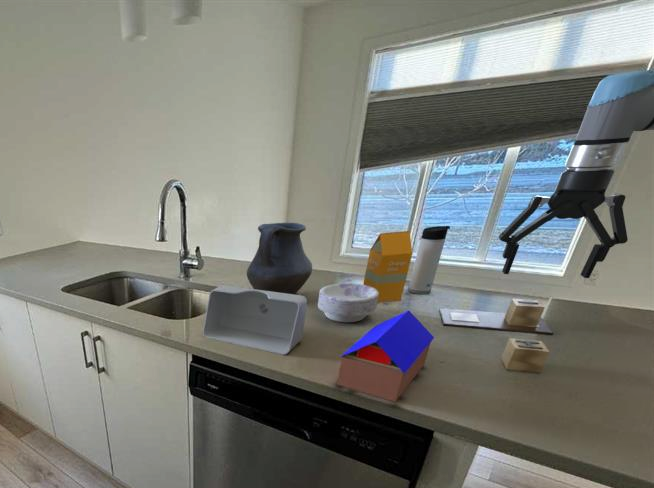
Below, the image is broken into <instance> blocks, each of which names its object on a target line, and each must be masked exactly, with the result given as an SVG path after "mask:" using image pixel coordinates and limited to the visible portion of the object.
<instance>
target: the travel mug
mask: <svg viewBox="0 0 654 488" xmlns="http://www.w3.org/2000/svg"><path fill="white" fill-rule="evenodd" d="M450 229H451V226H450V225H439V226H430V227H425V228H424V229H423V230H422V233H421V234H422V235H421V237H420V240H419V244H418V249H417V252H416V256H415V260H414V263H413V268H412V272H411V275H410V279H409V283H408V287H407V292H409V293H410V294H416V295H428V294H430V293H431V291H432V287H433V285H434V281H435V277H436V274H437V271H438V267H439V264H440V260H441V257H442V254H443V253H442V252H443V250H444V246H445V242H446V238H447V234H448V230H450Z"/></svg>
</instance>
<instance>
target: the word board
mask: <svg viewBox="0 0 654 488" xmlns="http://www.w3.org/2000/svg"><path fill="white" fill-rule="evenodd" d="M438 311H439V315H440V318H441V322H442V326H445V327H455V328H465V329H466V328H467V329H477V330H479V329H480V330H491V331H501V332H511V333H512V332H514V333H523V334H538V335H547V336H548V335H549V336H553V335H554V331H553V330H552V329H551V328H550V326H549V325H548V324H547V323H546V322H545V320H544V319H543V317H542V316H541V317H540V320H539V322H538V324H537V326H529V325H516V324H509V323H508V321H507V319H506V318H505V315H506V312H495V311H484V310H483V311H482V310H468V309H456V308H455V309H453V308H441V307H440V308H439V309H438Z"/></svg>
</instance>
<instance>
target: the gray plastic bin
mask: <svg viewBox="0 0 654 488" xmlns="http://www.w3.org/2000/svg"><path fill="white" fill-rule="evenodd" d="M307 305H308V300H307V298H306V296H304V295H300V294H295V295H294V294H286V293H279V292H271V291H264V290H256V289H253V288H248V287H239V286H234V285H233V286H232V285H225V284H221V285H219V286H217V287H216V288H214V289H212V290H211V291H209V294H208V300H207V305H206V309H205V310H206V311H205V317H204V323H203V328H202V335H203V336H204V338H207V339H209V340H210V339H211V340H216V341H219V342H224V343H228V344H233V345H237V346H242V347H246V348H251V349H255V350H260V351H264V352H269V353H273V354H278V355H282V356H284V355H287V354H288V353H290V352H291V351H292V350H293V349H294V348H295V346H297V345H298V343H299V342H301V341H302V340H303V336H304V328H305V321H306V312H307Z"/></svg>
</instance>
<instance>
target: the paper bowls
mask: <svg viewBox="0 0 654 488" xmlns="http://www.w3.org/2000/svg"><path fill="white" fill-rule="evenodd" d="M378 296H379V292H378V291H377V290H376V289H375V288H373V287H370V286H366V285H363V284H359V283H346V282H345V283H334V284H329V285H326V286H323V287H322V288H321V289H320V290H319V294H318V301H317V308H318V309H319V310H320V311H321V312H324V315H325V316H326V318H328V319H329V320H331V321H334V322H339V323H356V322H360V321H362V320H364V319H365V317H366V316H367V315H371V314H373V313H374V312H375V311H376V309H377V305H378V303H379V302H378Z"/></svg>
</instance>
